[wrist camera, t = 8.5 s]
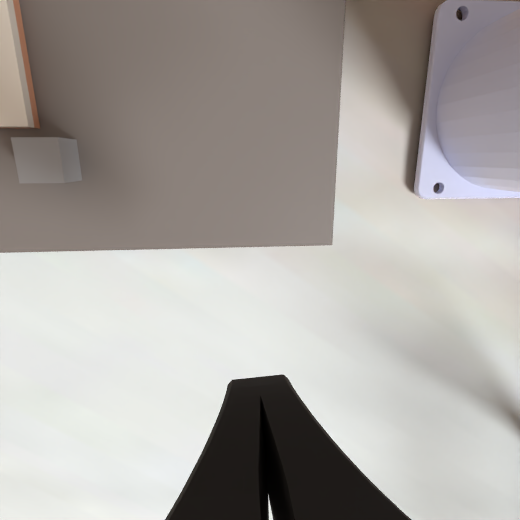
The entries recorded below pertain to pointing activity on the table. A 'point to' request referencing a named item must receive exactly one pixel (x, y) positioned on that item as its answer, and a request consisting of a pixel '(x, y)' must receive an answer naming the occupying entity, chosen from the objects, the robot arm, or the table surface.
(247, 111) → the board
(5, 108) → the tile
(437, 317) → the table surface
